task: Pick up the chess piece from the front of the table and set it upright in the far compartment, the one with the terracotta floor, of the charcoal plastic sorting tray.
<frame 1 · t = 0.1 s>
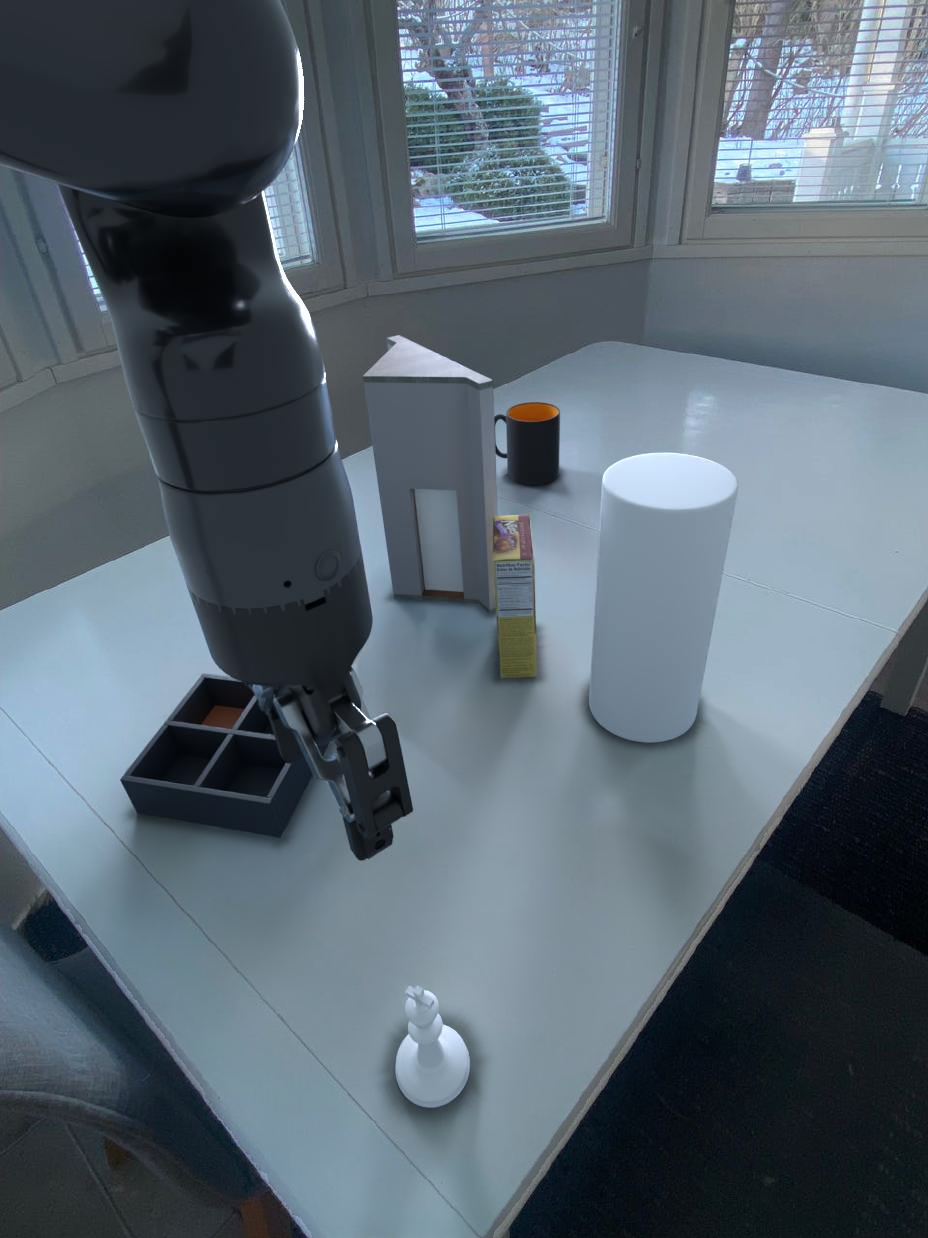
hand: (334, 798, 41), 20 cm above the table, tool pointing down, fingers open, 8 cm apart
tall pillar cylinder: (641, 705, 74), on the table
cabinet: (425, 584, 94), on the table
tray: (244, 765, 71), on the table
chess piece: (433, 1067, 48), on the table
mug: (523, 472, 119), on the table
candy box: (516, 654, 82), on the table
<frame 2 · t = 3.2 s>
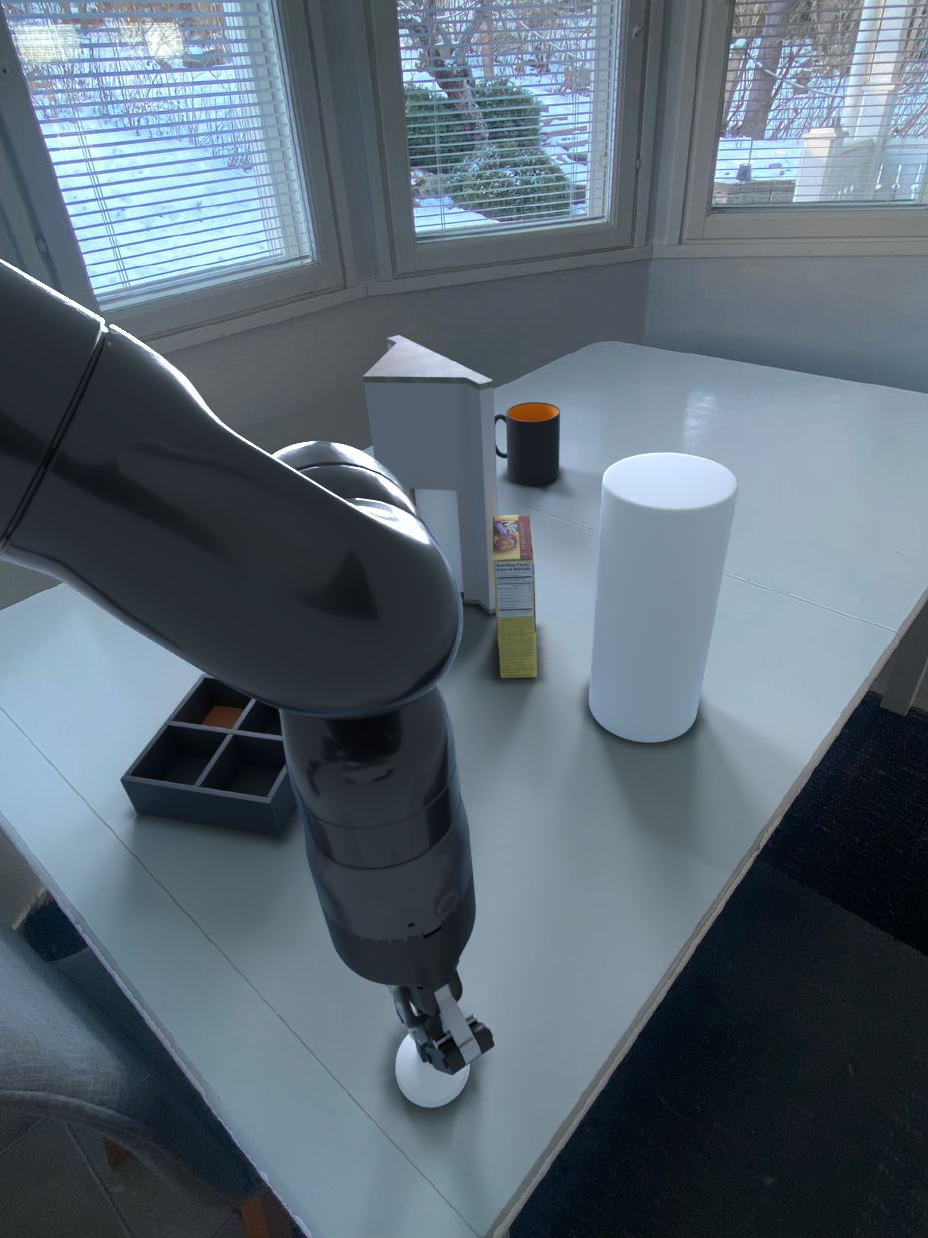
hand: (425, 1030, 45), 5 cm above the table, tool pointing down, fingers closed on chess piece
chess piece: (433, 1067, 48), on the table, touching gripper
everything else where it was.
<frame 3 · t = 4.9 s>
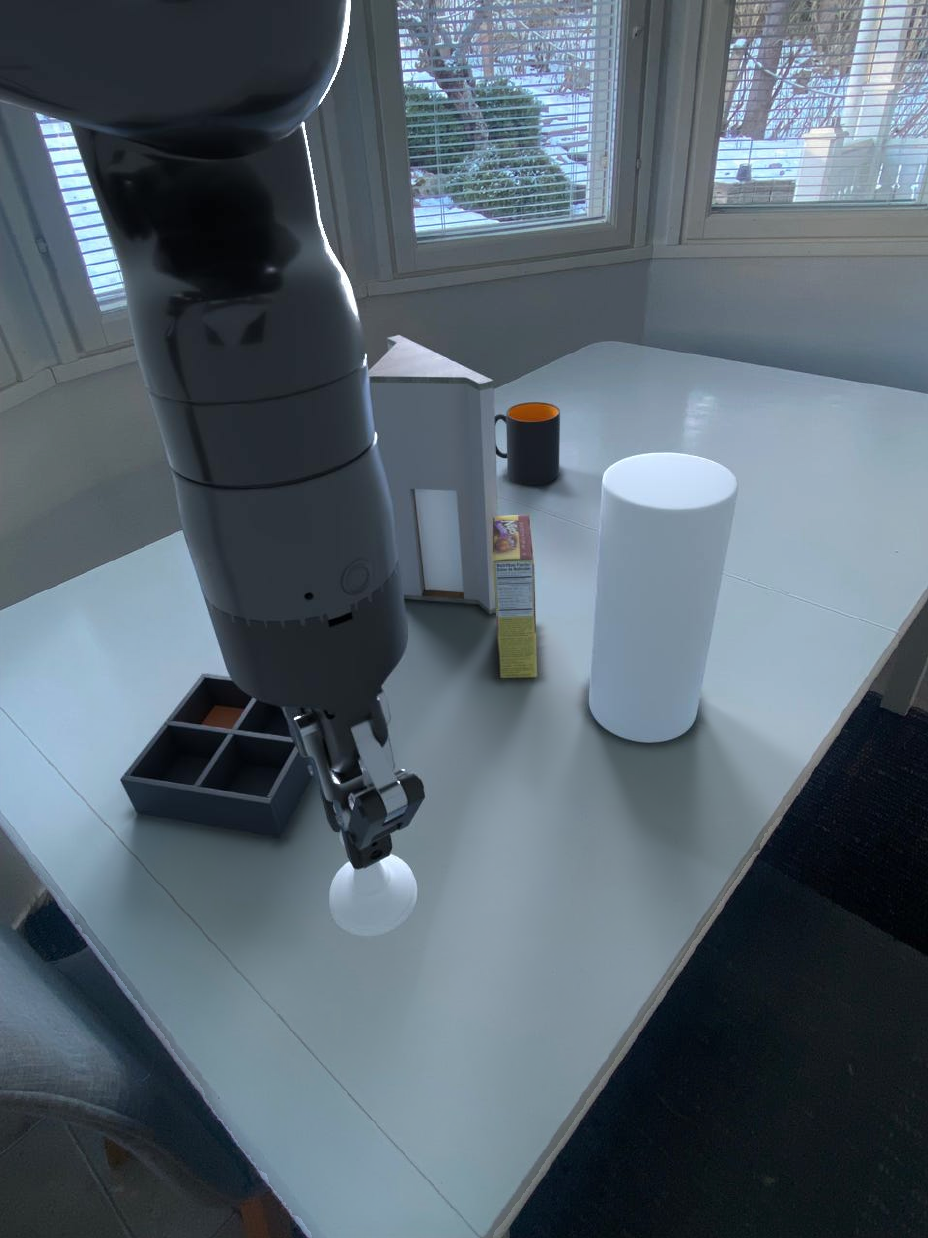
hand: (360, 838, 38), 21 cm above the table, tool pointing down, fingers closed on chess piece
chess piece: (374, 897, 41), point 15 cm above the table, touching gripper
everything else where it was.
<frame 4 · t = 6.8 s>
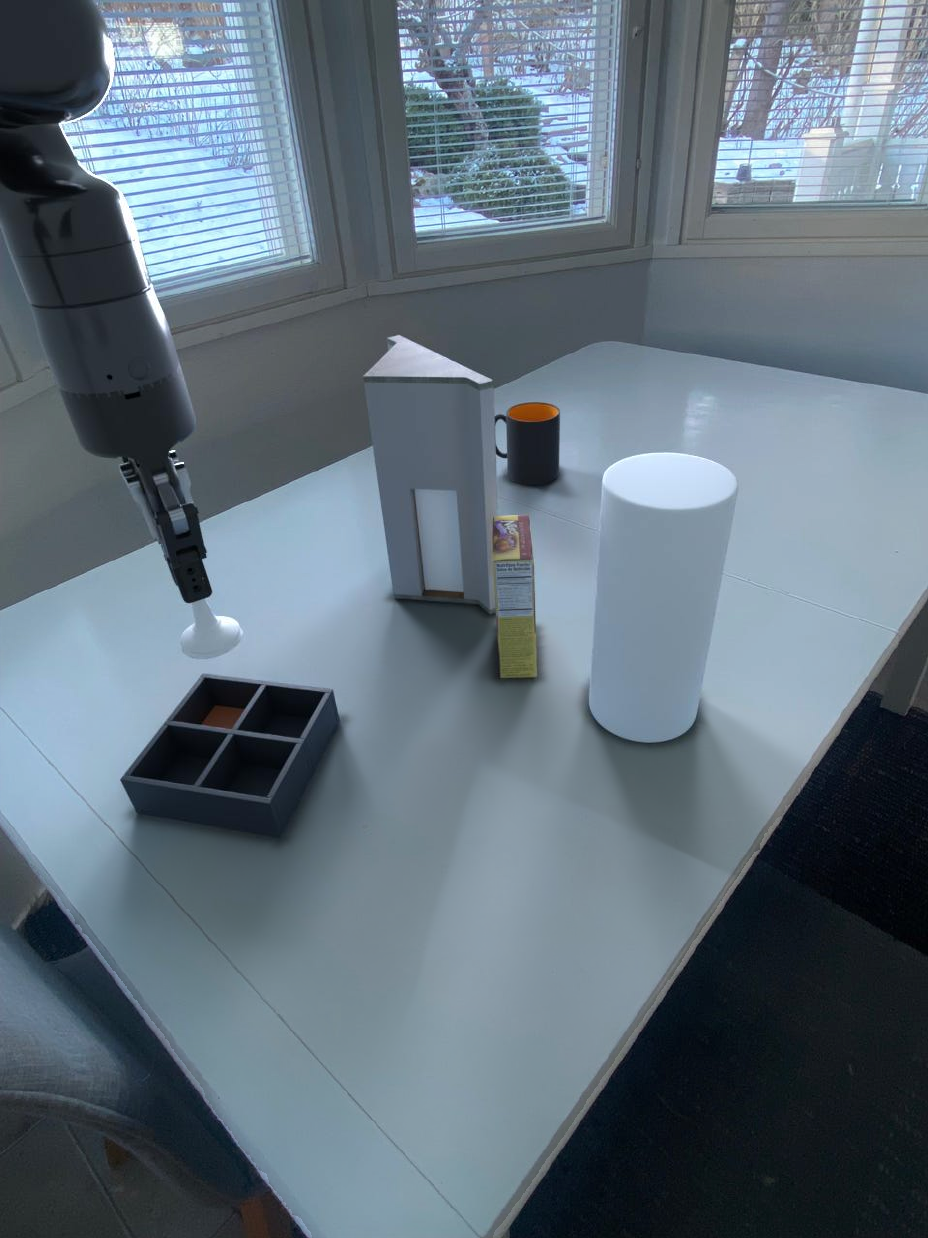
hand: (194, 589, 57), 21 cm above the table, tool pointing down, fingers closed on chess piece
chess piece: (213, 642, 60), point 16 cm above the table, touching gripper
everything else where it was.
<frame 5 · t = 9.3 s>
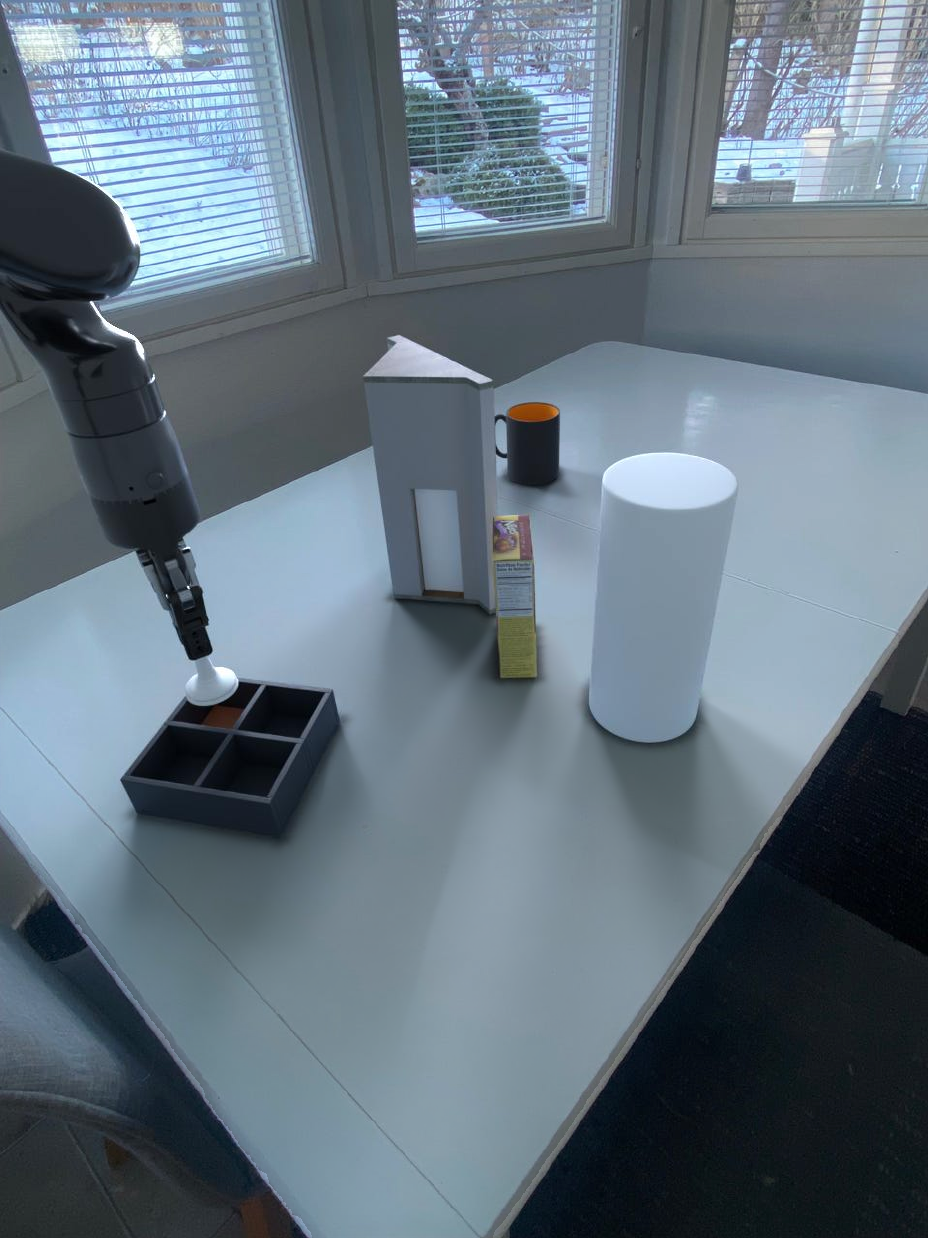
hand: (197, 647, 67), 12 cm above the table, tool pointing down, fingers closed on chess piece
chess piece: (213, 690, 70), point 6 cm above the table, touching gripper
everything else where it was.
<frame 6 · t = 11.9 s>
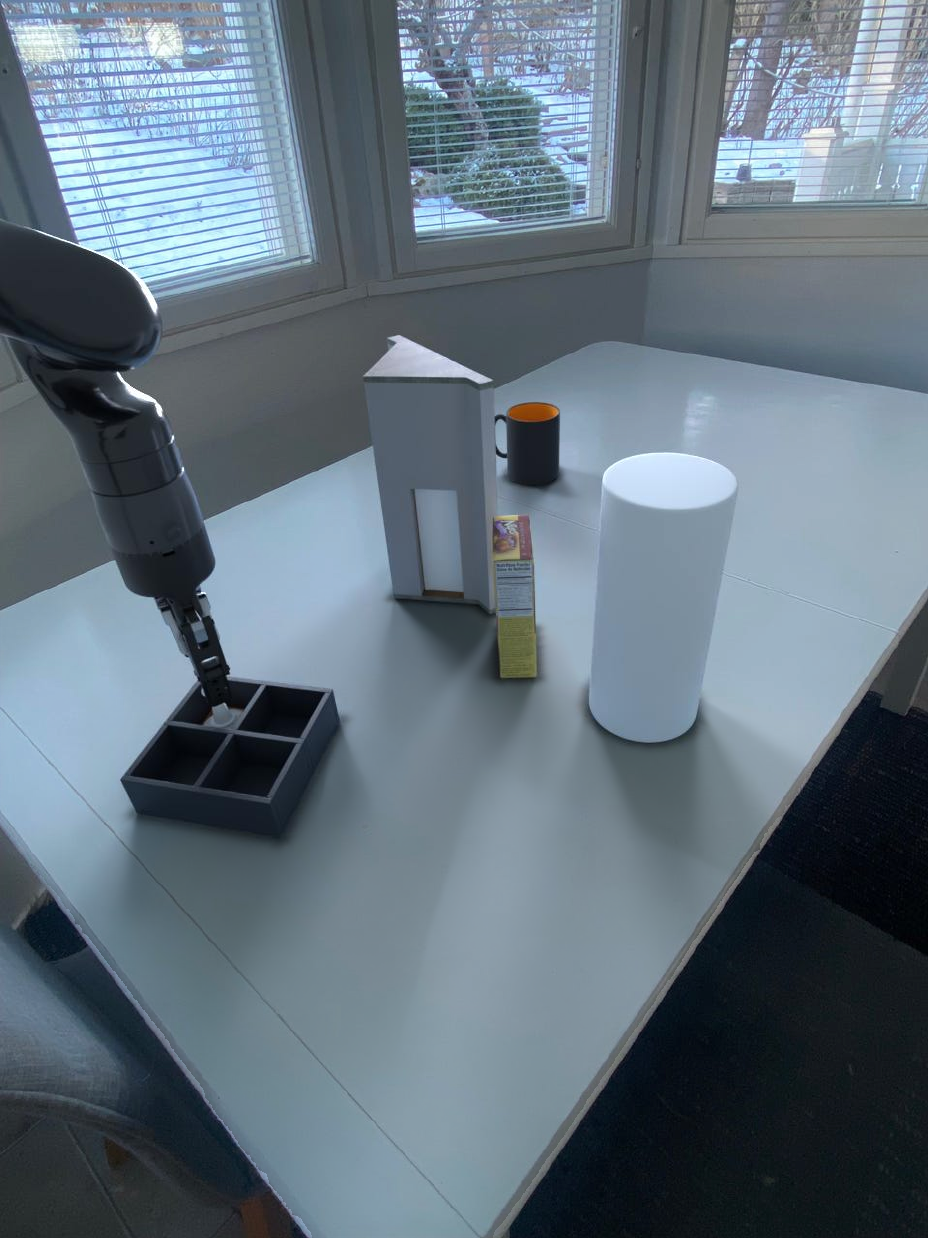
hand: (208, 676, 69), 8 cm above the table, tool pointing down, fingers open, 8 cm apart
chess piece: (227, 731, 73), point 1 cm above the table, touching tray
everything else where it was.
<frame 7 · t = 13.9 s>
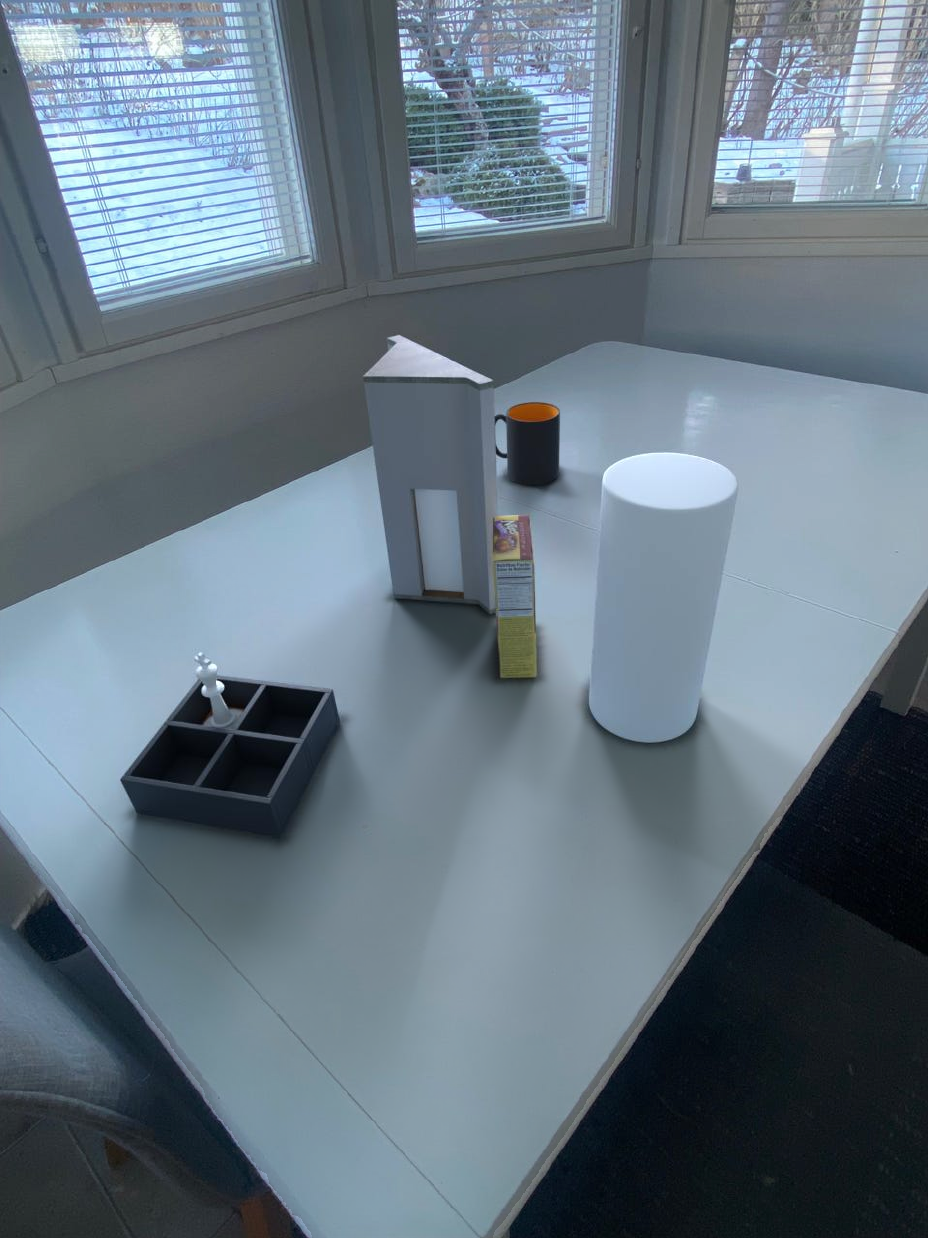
nothing on the table moved.
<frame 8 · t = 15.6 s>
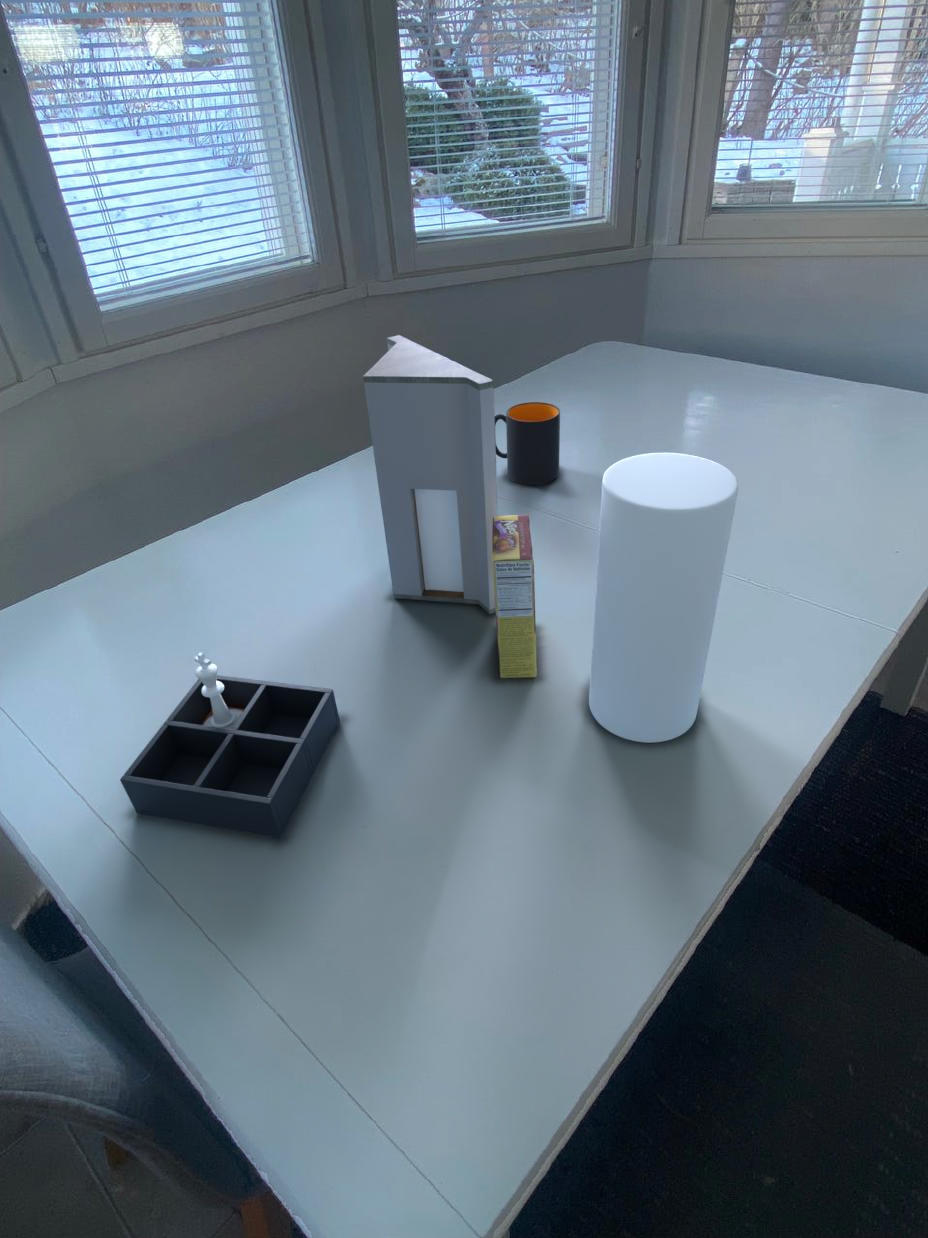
nothing on the table moved.
at the end: chess piece 0.2 cm from the target spot in the tray, point 0.6 cm above the tray's base; chess piece tilted 0°; the gripper is holding nothing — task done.
